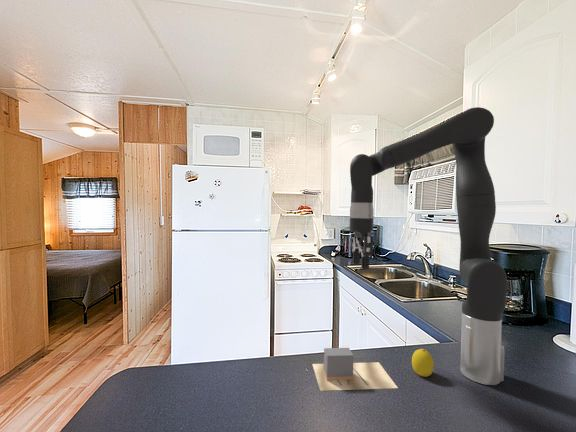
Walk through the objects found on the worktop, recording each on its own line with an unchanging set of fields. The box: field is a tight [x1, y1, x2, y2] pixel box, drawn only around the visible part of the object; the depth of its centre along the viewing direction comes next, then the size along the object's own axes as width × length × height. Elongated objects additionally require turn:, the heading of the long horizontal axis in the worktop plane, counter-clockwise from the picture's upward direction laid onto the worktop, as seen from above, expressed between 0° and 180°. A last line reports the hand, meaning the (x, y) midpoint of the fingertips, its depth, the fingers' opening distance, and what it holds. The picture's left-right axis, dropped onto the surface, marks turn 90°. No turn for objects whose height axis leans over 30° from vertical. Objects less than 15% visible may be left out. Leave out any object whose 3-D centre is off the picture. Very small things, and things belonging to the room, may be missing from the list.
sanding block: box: [323, 347, 354, 380], centre depth 74 cm, size 7×4×6 cm, turn 95°
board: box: [312, 361, 399, 392], centre depth 75 cm, size 20×12×1 cm, turn 95°
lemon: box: [411, 348, 435, 378], centre depth 76 cm, size 6×6×8 cm
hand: (360, 266), depth 90 cm, fingers open, 8 cm apart
